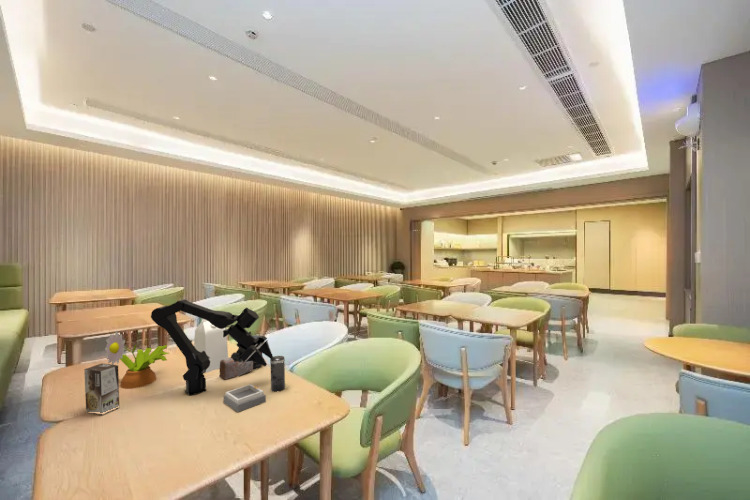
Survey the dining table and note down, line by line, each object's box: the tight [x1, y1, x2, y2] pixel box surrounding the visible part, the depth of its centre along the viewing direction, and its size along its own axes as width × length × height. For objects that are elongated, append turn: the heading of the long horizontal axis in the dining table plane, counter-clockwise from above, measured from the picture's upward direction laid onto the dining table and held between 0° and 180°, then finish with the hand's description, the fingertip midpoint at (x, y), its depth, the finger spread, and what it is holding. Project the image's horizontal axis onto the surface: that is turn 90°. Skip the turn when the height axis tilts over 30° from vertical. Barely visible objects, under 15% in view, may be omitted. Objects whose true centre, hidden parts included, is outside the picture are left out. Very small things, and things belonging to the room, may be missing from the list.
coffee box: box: [84, 362, 120, 413], centre depth 126 cm, size 9×6×16 cm
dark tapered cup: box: [269, 355, 286, 393], centre depth 142 cm, size 6×6×13 cm
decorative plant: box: [104, 330, 170, 390], centre depth 152 cm, size 27×24×25 cm
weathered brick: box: [219, 356, 254, 380], centre depth 159 cm, size 14×8×10 cm, turn 138°
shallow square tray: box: [223, 383, 267, 413], centre depth 131 cm, size 11×12×4 cm
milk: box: [193, 318, 229, 374], centre depth 170 cm, size 12×12×26 cm
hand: (269, 361), depth 142 cm, fingers open, 9 cm apart
